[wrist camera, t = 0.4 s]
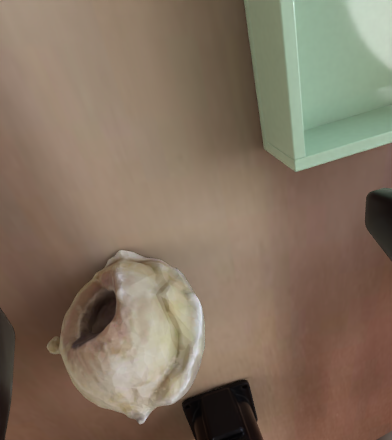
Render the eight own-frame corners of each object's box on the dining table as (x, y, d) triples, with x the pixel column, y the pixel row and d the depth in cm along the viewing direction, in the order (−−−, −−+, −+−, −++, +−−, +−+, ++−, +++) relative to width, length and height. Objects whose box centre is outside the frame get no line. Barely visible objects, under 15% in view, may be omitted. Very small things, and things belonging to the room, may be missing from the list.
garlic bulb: (173, 242, 28) (258, 306, 20) (155, 335, 30) (226, 426, 22) (46, 244, 23) (94, 332, 15) (35, 357, 25) (72, 487, 17)
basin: (446, 94, 25) (511, 106, 21) (263, 149, 23) (295, 172, 19) (478, -176, 18) (584, -236, 14) (227, -117, 17) (264, -165, 13)
